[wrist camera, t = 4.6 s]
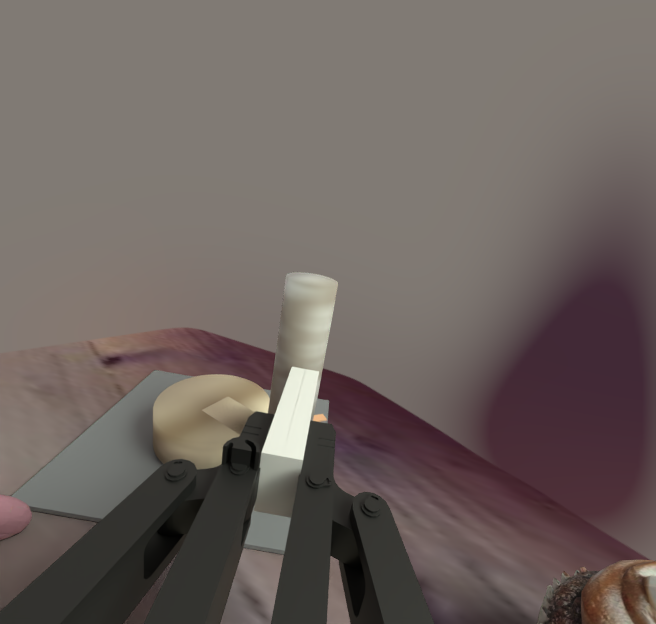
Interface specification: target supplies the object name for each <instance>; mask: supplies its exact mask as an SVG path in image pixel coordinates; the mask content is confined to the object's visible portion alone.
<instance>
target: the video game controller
mask: <svg viewBox="0 0 656 624" xmlns="http://www.w3.org/2000/svg"><path fill="white" fill-rule="evenodd" d="M31 518H32V513H31V510H30V508H29V506H28V505H27V504H26V503H25V502H23V501H21V500H19V499H17V498H14V497H11V496H5V495H0V540H3V539H5V538H8V537H11V536H13V535H15V534H17V533H20V532H21V531H22V530H23V529H24V528H25V527H26V526H27V525H28V524H29V522H30V521H31Z"/></svg>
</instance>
